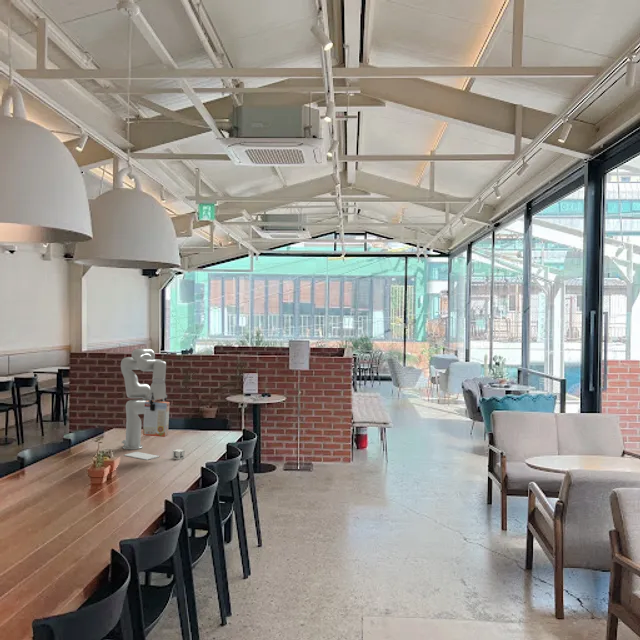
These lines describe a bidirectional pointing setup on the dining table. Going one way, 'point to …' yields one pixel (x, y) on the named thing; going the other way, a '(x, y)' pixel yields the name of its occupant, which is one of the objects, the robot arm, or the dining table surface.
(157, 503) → the dining table surface
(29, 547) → the dining table surface
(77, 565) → the dining table surface
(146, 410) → the cracker box
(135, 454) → the white mat
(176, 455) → the off-white cubic block
